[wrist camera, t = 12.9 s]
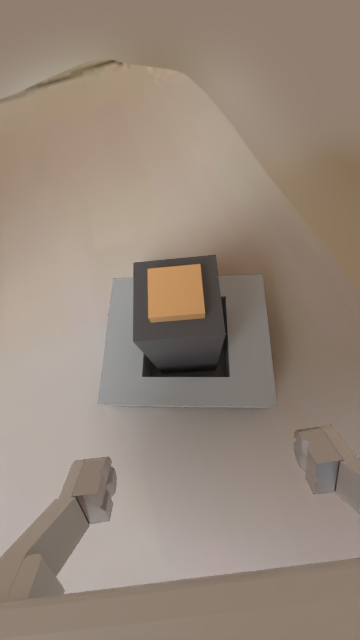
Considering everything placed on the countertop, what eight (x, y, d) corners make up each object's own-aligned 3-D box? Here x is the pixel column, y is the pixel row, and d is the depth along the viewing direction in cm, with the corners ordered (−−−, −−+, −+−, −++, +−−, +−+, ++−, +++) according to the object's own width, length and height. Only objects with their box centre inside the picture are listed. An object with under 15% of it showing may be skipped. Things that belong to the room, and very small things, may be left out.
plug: (162, 373, 20) (129, 337, 11) (161, 324, 21) (130, 255, 12) (215, 370, 19) (227, 329, 10) (210, 320, 21) (216, 247, 12)
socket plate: (115, 406, 20) (98, 404, 16) (125, 298, 23) (113, 278, 19) (264, 408, 19) (277, 406, 15) (253, 295, 22) (262, 274, 19)
